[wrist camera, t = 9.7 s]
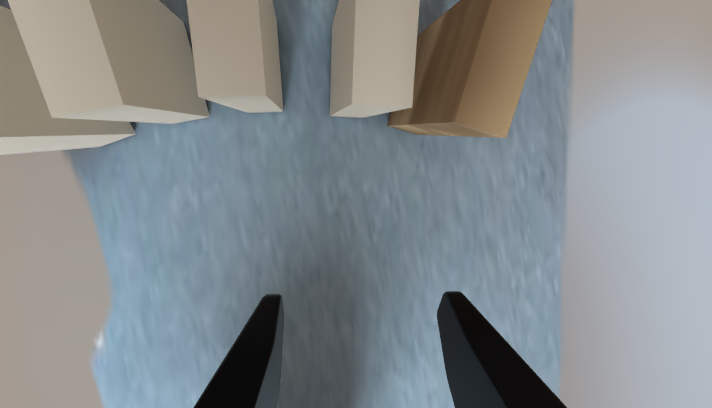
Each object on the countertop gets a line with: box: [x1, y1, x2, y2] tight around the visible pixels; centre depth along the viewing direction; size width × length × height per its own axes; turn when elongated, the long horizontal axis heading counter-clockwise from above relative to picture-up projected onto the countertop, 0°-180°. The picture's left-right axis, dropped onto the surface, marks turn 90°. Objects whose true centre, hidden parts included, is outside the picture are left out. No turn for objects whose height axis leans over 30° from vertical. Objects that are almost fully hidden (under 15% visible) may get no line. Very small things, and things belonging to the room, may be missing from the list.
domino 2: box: [8, 0, 210, 124], centre depth 15 cm, size 2×5×10 cm, turn 11°
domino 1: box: [0, 6, 135, 155], centre depth 14 cm, size 2×5×10 cm, turn 20°
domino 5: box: [387, 0, 552, 138], centre depth 17 cm, size 2×5×10 cm, turn 165°
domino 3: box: [186, 0, 284, 113], centre depth 15 cm, size 2×5×10 cm, turn 2°
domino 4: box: [330, 0, 420, 118], centre depth 16 cm, size 2×5×10 cm, turn 178°
